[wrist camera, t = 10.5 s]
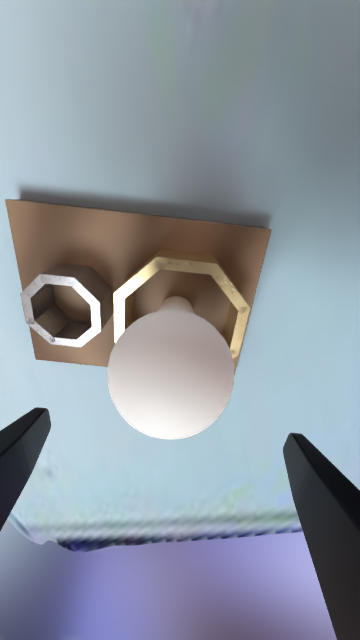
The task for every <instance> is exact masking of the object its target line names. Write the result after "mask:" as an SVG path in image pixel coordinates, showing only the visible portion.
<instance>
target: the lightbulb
mask: <svg viewBox="0 0 360 640" xmlns="http://www.w3.org/2000/svg"><path fill="white" fill-rule="evenodd" d="M107 376H108V388H109V392H110V396H111V399H112V401H113V403H114V405H115V406H116V408H117V410H118V412H119V413H120V414H121V416H122V417H123V418H124V419H125V420H126V421H127V422H128V423H129V424H130V425H131V426H132V427H133V428H135V429H136V430H138V431H140V432H141V433H143V434H146V435H148V436H151V437H155V438H160V439H181V438H187V437H190V436H193V435H196V434H198V433H199V432H201V431H203V430H204V429H206V428H207V427H208V426H209V425H211V424H212V423H213V422H214V421H215V420H216V419H217V418H218V417H219V416H220V415H221V413H222V412H223V410H224V409H225V407H226V405H227V404H228V402H229V400H230V396H231V392H232V389H233V385H234V363H233V359H232V355H231V352H230V349H229V347H228V345H227V343H226V341H225V339H224V338H223V337H222V335H221V334H220V333H219V332H218V331H217V329H216V328H215V327H214V326H213V325H212V324H210V323H209V322H208V321H206V320H205V319H203V318H201V317H199V316H197V315H196V314H195V313H194V312H193V308H192V306H191V304H190V302H189V301H188V300H186V299H185V298H183V297H180V296H172V297H169V298H167V299H166V300H164V302H163V303H162V305H161V307H160V309H158V310H157V312H153V313H150V314H147V315H145V316H143V317H141V318H139V319H138V320H136V321H135V322H134V323H132V324H131V325H130V326H129V327H128V328H127V329H125V330H124V332H123V333H122V334H121V335H120V337H119V338H118V339H117V341H116V344H115V346H114V348H113V350H112V352H111V354H110V358H109V363H108V370H107Z"/></svg>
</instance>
